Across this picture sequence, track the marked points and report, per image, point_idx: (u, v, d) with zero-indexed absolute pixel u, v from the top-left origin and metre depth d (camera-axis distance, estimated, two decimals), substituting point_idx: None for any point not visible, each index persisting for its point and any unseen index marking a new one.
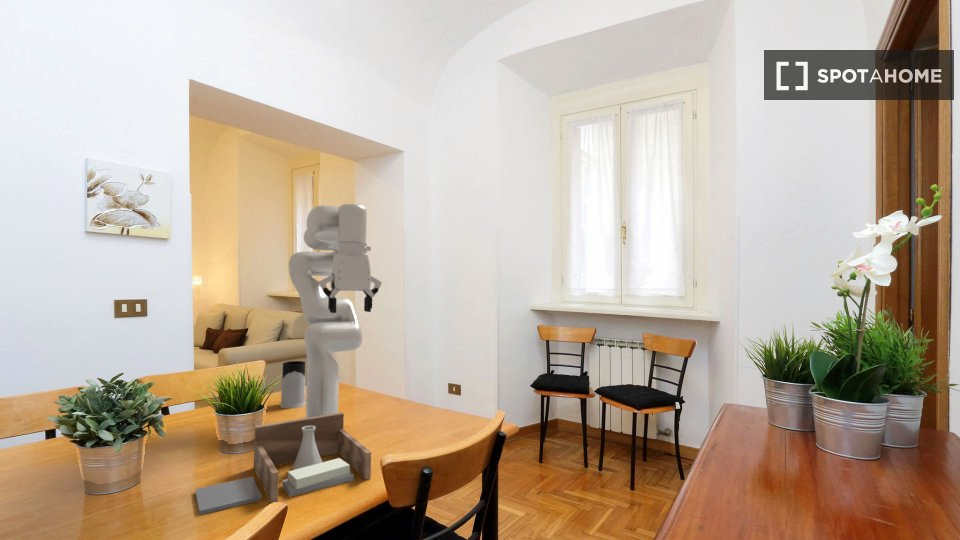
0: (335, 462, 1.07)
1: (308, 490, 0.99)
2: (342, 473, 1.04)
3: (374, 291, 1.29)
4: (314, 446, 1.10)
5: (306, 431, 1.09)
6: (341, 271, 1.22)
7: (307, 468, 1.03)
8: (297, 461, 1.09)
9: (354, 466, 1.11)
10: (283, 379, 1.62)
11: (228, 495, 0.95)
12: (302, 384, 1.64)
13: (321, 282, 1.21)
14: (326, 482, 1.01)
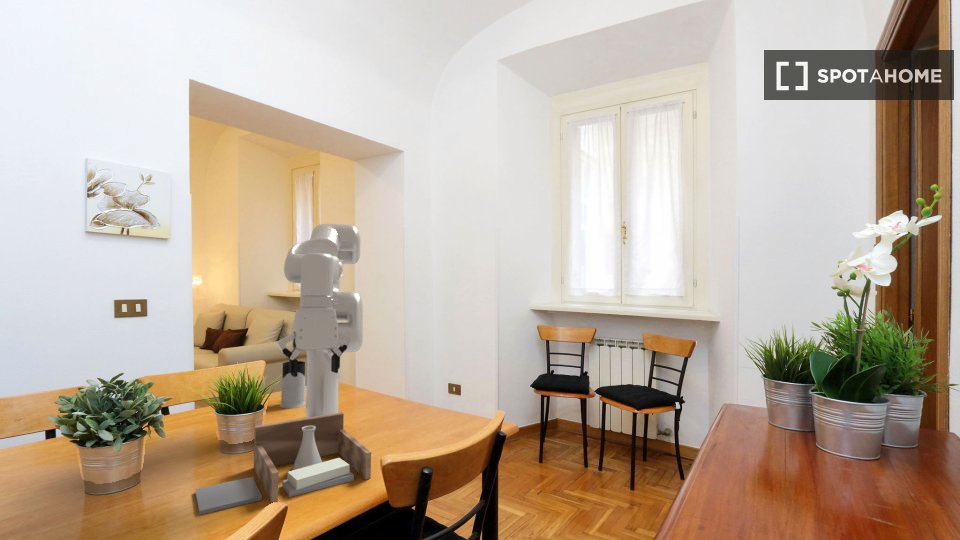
0: (334, 461, 1.07)
1: (308, 490, 0.99)
2: (342, 473, 1.04)
3: (342, 349, 1.15)
4: (314, 446, 1.10)
5: (306, 431, 1.09)
6: (303, 329, 1.09)
7: (307, 468, 1.03)
8: (297, 461, 1.09)
9: (354, 466, 1.11)
10: (283, 379, 1.62)
11: (228, 495, 0.95)
12: (302, 384, 1.64)
13: (280, 342, 1.07)
14: (326, 482, 1.01)
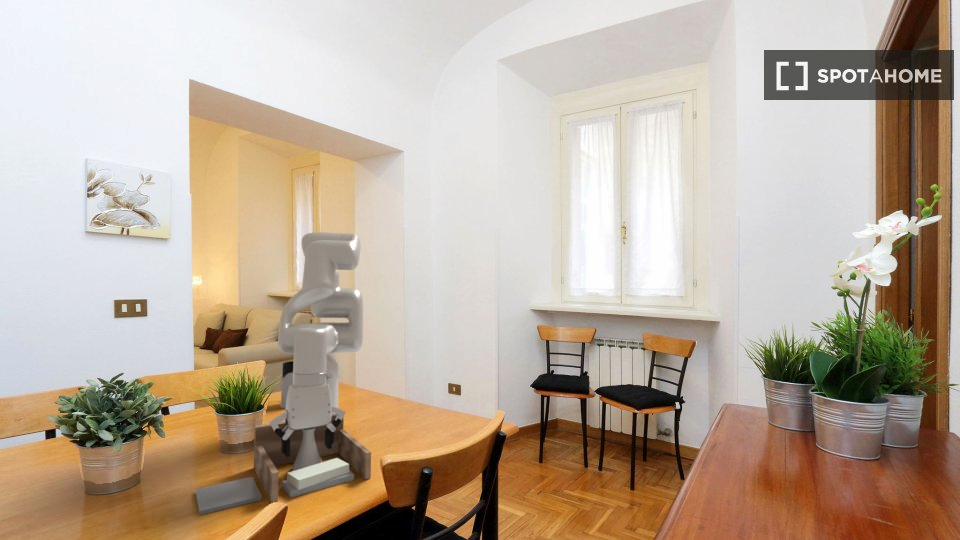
0: (333, 461, 1.07)
1: (309, 490, 0.99)
2: (342, 472, 1.05)
3: (336, 423, 1.13)
4: (314, 446, 1.10)
5: (306, 431, 1.09)
6: (296, 408, 1.07)
7: (306, 469, 1.03)
8: (297, 461, 1.09)
9: (354, 466, 1.11)
10: (283, 379, 1.62)
11: (228, 495, 0.95)
12: None
13: (272, 423, 1.05)
14: (327, 482, 1.01)
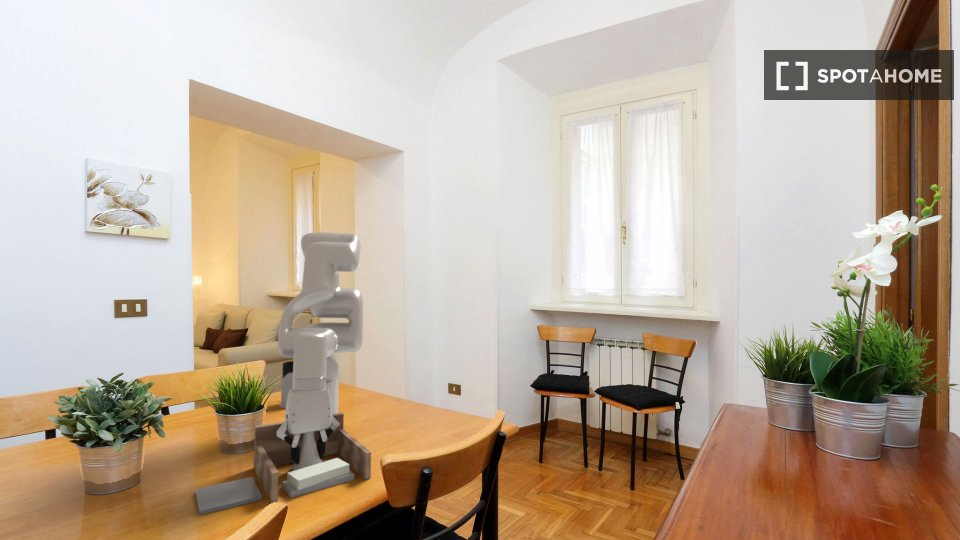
0: (333, 461, 1.07)
1: (309, 490, 0.99)
2: (342, 473, 1.04)
3: (328, 433, 1.13)
4: (314, 446, 1.10)
5: None
6: (296, 413, 1.07)
7: (307, 469, 1.03)
8: None
9: (354, 466, 1.11)
10: (283, 379, 1.62)
11: (228, 495, 0.95)
12: None
13: (278, 434, 1.06)
14: (327, 482, 1.01)
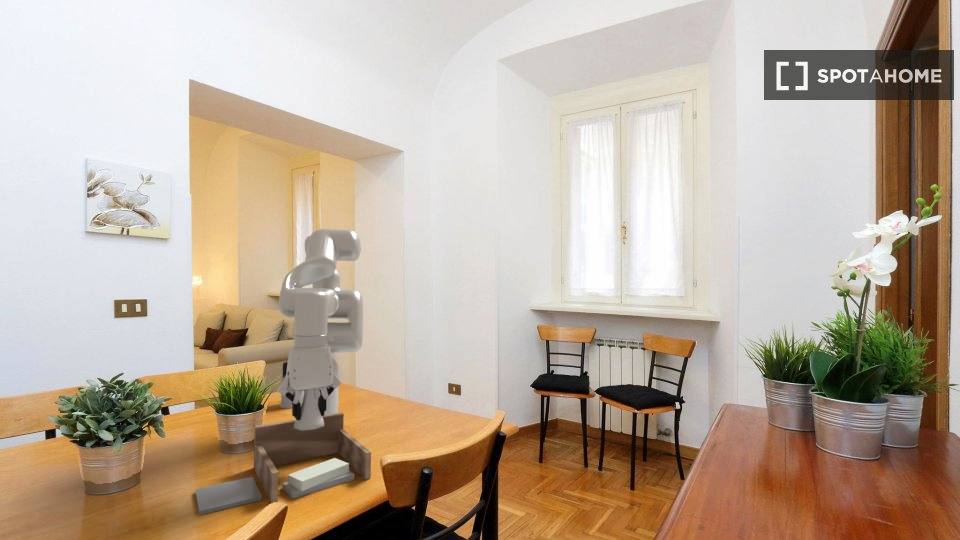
0: (332, 462, 1.07)
1: (311, 491, 0.99)
2: (342, 472, 1.05)
3: (329, 391, 1.13)
4: (315, 403, 1.11)
5: None
6: (297, 370, 1.07)
7: (307, 470, 1.02)
8: None
9: (354, 466, 1.11)
10: (283, 379, 1.62)
11: (228, 495, 0.95)
12: None
13: (280, 390, 1.07)
14: (328, 482, 1.01)
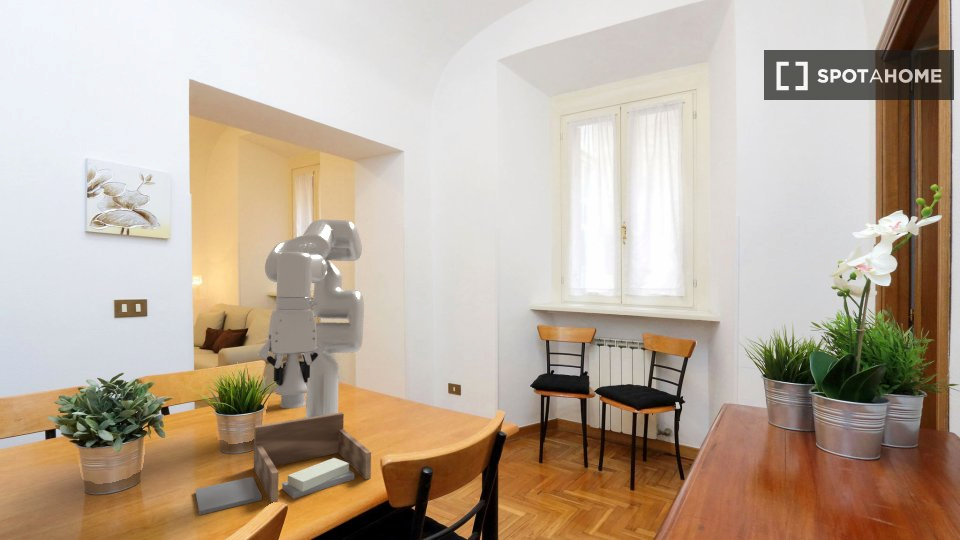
0: (332, 461, 1.07)
1: (311, 491, 0.99)
2: (342, 472, 1.05)
3: (312, 357, 1.09)
4: (298, 368, 1.07)
5: None
6: (279, 332, 1.04)
7: (307, 470, 1.02)
8: None
9: (354, 466, 1.11)
10: None
11: (228, 495, 0.95)
12: None
13: (261, 353, 1.03)
14: (328, 482, 1.01)
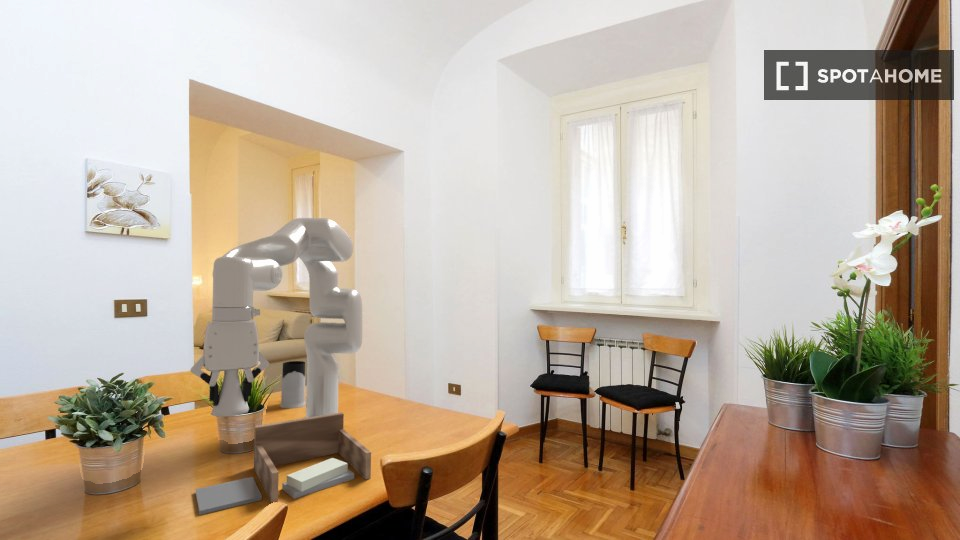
0: (330, 461, 1.07)
1: (312, 491, 0.99)
2: (341, 472, 1.05)
3: (255, 373, 0.99)
4: (237, 386, 0.96)
5: None
6: (213, 346, 0.93)
7: (305, 470, 1.02)
8: None
9: (354, 466, 1.11)
10: (283, 379, 1.62)
11: (228, 495, 0.95)
12: (302, 384, 1.64)
13: (193, 370, 0.92)
14: (329, 482, 1.01)
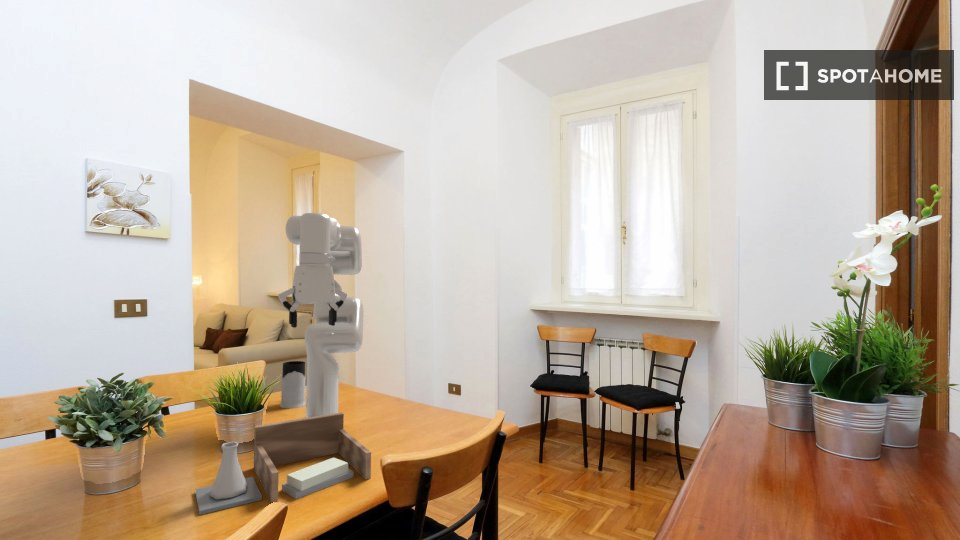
0: (331, 461, 1.07)
1: (313, 490, 0.99)
2: (341, 471, 1.05)
3: (339, 304, 1.23)
4: (236, 465, 0.96)
5: (226, 448, 0.95)
6: (302, 283, 1.17)
7: (306, 470, 1.02)
8: (215, 483, 0.95)
9: (354, 466, 1.11)
10: (283, 379, 1.62)
11: None
12: (302, 384, 1.64)
13: (281, 295, 1.15)
14: (329, 481, 1.02)
